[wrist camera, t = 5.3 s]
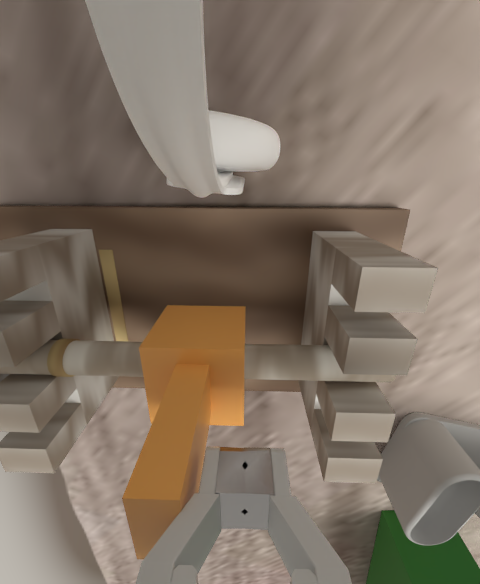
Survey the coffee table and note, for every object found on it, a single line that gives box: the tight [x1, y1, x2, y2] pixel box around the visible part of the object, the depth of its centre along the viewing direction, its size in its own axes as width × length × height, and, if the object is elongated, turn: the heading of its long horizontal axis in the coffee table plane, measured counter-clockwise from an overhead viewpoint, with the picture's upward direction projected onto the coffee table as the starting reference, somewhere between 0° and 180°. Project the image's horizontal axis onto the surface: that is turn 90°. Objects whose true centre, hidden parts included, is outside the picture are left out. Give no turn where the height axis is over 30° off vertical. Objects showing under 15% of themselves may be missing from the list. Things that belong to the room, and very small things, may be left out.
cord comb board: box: [0, 206, 438, 483], centre depth 18 cm, size 16×30×10 cm, turn 90°
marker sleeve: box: [122, 305, 246, 559], centre depth 13 cm, size 5×5×11 cm
